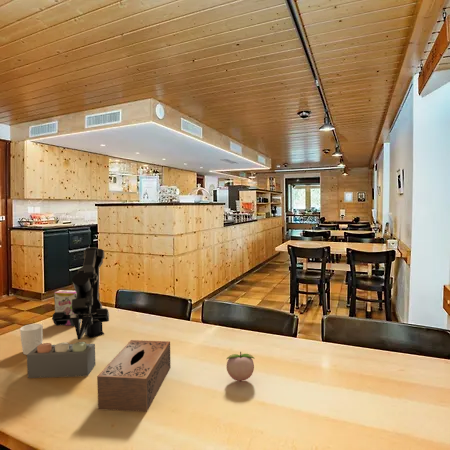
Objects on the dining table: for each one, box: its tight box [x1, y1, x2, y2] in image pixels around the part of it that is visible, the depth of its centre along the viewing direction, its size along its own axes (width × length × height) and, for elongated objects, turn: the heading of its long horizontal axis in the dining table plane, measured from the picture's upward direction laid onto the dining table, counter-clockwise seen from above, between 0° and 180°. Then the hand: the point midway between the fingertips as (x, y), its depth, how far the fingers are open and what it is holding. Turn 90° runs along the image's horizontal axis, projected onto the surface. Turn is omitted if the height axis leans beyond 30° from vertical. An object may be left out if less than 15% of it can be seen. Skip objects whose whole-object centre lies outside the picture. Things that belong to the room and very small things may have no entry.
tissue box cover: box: [96, 339, 172, 413], centre depth 109 cm, size 26×14×10 cm, turn 174°
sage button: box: [72, 341, 87, 352], centre depth 119 cm, size 4×4×4 cm
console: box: [26, 343, 96, 379], centre depth 119 cm, size 8×20×8 cm, turn 93°
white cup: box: [19, 323, 44, 356], centre depth 135 cm, size 8×8×10 cm
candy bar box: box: [53, 289, 82, 327], centre depth 165 cm, size 11×5×16 cm, turn 84°
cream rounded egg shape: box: [54, 341, 70, 352], centre depth 119 cm, size 4×4×4 cm
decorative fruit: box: [226, 351, 255, 382], centre depth 111 cm, size 9×8×10 cm
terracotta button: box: [37, 342, 53, 353], centre depth 118 cm, size 4×4×4 cm
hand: (79, 339), depth 119 cm, fingers closed
